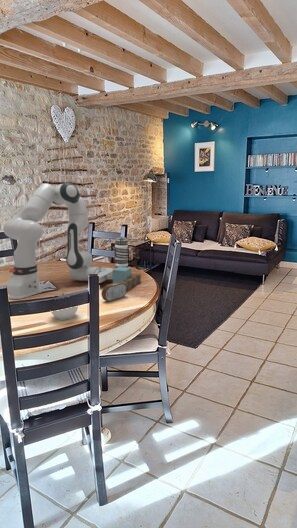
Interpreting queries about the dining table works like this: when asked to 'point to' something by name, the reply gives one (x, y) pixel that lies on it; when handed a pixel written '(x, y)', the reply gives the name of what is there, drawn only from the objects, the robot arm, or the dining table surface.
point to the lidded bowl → (64, 311)
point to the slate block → (121, 274)
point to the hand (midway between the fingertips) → (115, 276)
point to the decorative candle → (121, 252)
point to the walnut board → (132, 281)
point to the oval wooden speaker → (114, 291)
